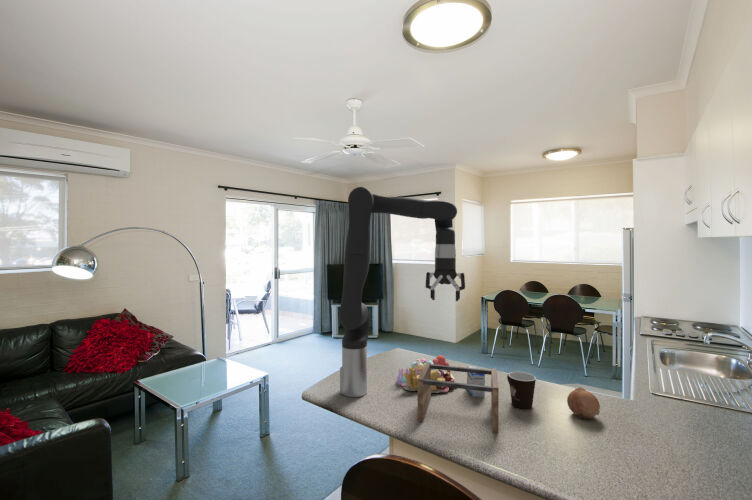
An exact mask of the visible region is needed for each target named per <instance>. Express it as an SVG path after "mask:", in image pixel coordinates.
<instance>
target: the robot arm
mask: <svg viewBox="0 0 752 500" xmlns="http://www.w3.org/2000/svg"><path fill="white" fill-rule="evenodd" d="M347 204H348V230H347V236H346V241H345V250H344V257H343V258H344V260H343V261H344V262H343V263H344V264H343V280H342V282H343V283H342V296H341V299H340V307H339V313H338V319H339V322H340V324H341V326H342V327H343V328H344V329H345V331H344V332H345V333H344V335H343V337H342V340H341V366H340V368H339V394H340V395H343V396H345V397H347V398H360V397H363V396H365V395H366V394H367V393H368V340H369V336H370V335H369V332H370V312H369V308H368V306H367V305H366V304H365V303H363V302H362V301H363V300H362V299H363V298H362V297H363V289H364V286H365V283H366V280H367V277H368V273H369V270H370V262H371V261H370V259H371V236H370V222H371V215H372V214H386V215H387V214H389V215H396V216H402V217H407V218H414V219H423V220H424V219H425V220H426V219H432V220H434V225H435V226H434V227H435V248H434V272H430V271H428V272H426V275H425V288H426V289H429V291H430V295H429V297H430V299H431V300H432V301H435V300H436V289H435V288H436V287H437V286H438V285H439V284H440V285H452V287H454V289H455V302H459V301H460V298H461V291H463V290H465V289H466V282H465V281H466V280H465V279H466V278H465V272H458V273H457V269H456V266H457V265H456V263H457V262H456V260H457V258H456V257H457V253H456V252H457V251H456V232H455V230H454V226H453V220H454V219H455V218H456V216H457V214H458V208H457V207H456V205H455V204H454V203H453V202H451V201H445V200H428V199H427V200H426V199H421V198H413V197H391V196H389V197H388V196H383V195H378V194H375V193H372V191H371V190H369V189H368V188H367V187H365V186H358V187H355V188H353V189H352V190H351V191H350V193H349V195H348V198H347ZM433 277H434V279H435V281H434V283H433V284H432V285H431V279H432V278H433ZM457 277H458V279H460V283H461V285H460V286H459V284H458V283H457V282H456V280H455V279H456V278H457Z"/></svg>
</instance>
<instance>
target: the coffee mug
mask: <svg viewBox="0 0 752 500" xmlns="http://www.w3.org/2000/svg"><path fill="white" fill-rule="evenodd" d="M506 379H507V382H508V385H509V392H510V400H511V405H512V407H513V408H515V409H517V410H521V411H529V410H531V409H533V403H534V395H535V388H536V382H537V377H536V376H535V375H533V374H531V373H528V372H524V371H511V372H509V373H508V374H507V375H506Z"/></svg>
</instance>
